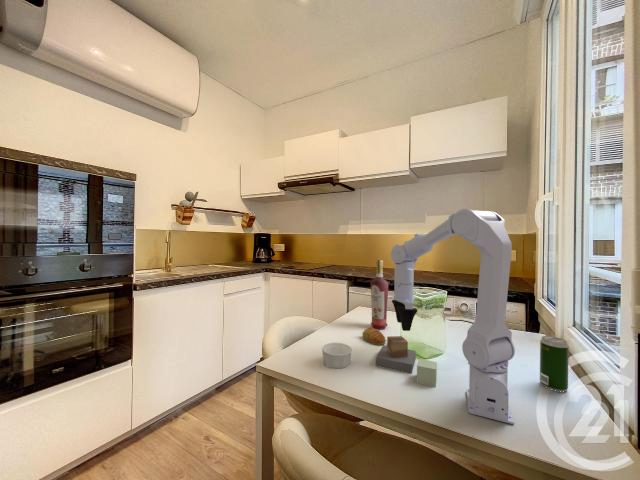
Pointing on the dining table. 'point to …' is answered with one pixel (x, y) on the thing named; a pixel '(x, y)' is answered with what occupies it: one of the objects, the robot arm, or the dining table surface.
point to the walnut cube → (397, 346)
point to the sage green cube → (427, 372)
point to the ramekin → (336, 355)
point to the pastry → (374, 336)
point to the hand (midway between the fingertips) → (403, 326)
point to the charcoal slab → (396, 361)
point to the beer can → (554, 363)
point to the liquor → (379, 298)
